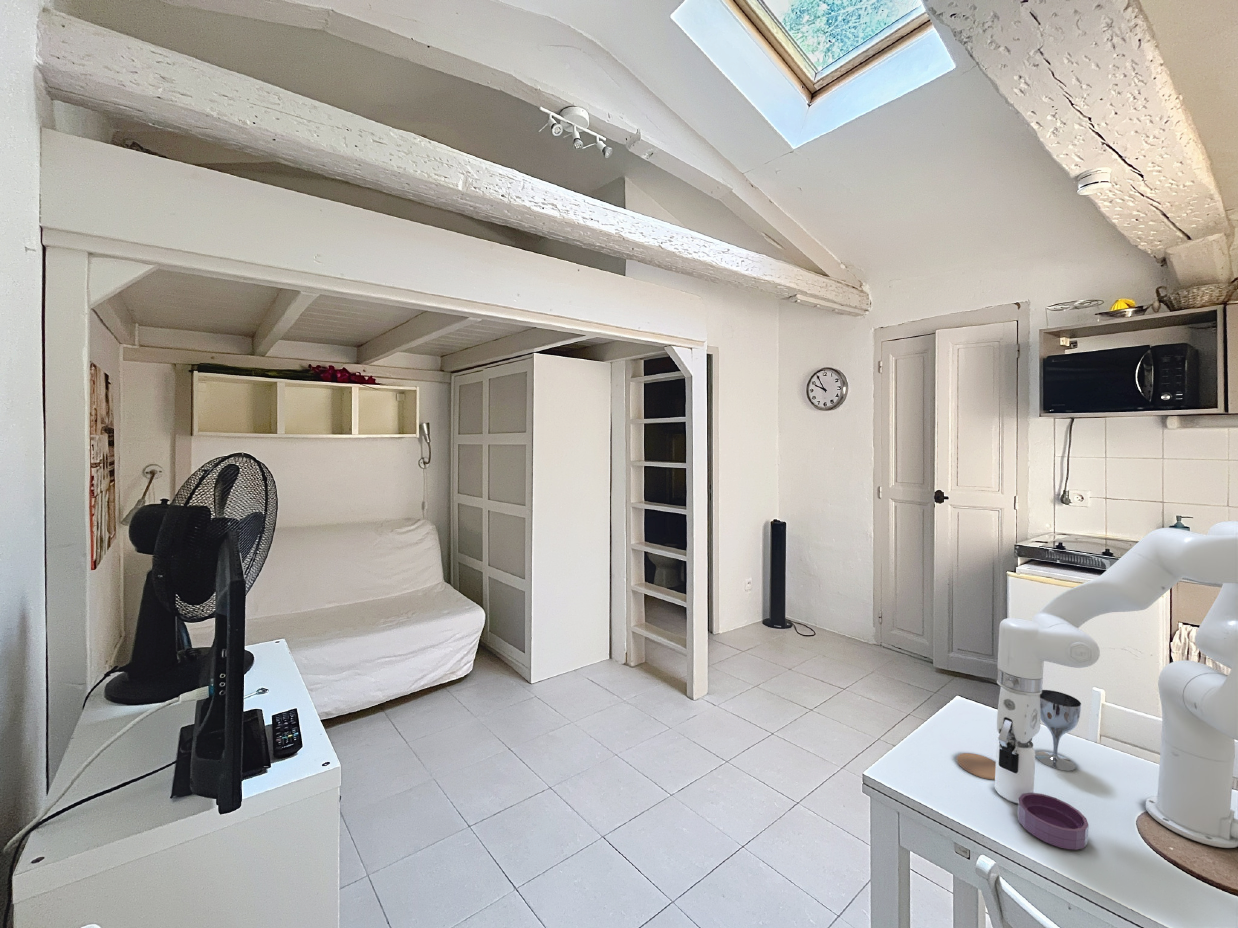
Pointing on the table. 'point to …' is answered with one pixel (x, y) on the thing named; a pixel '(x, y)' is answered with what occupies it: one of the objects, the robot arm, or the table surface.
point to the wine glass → (1058, 724)
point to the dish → (1053, 821)
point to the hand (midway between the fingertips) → (1015, 762)
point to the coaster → (977, 765)
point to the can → (1021, 781)
